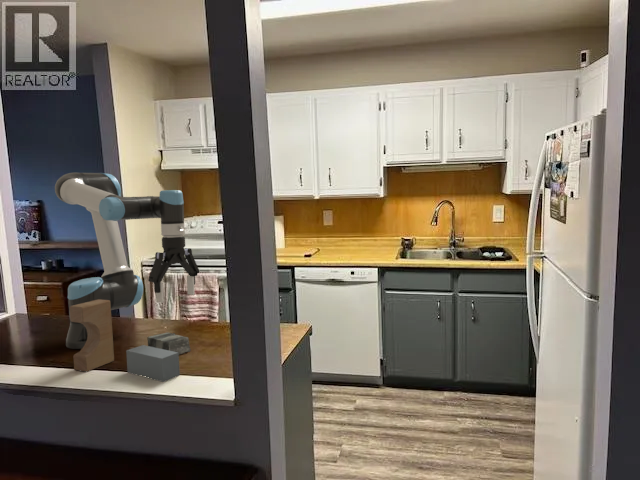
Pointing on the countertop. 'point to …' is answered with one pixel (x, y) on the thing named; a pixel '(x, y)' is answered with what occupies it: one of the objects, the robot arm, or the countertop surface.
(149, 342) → the stone block
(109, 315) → the decorative block
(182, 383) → the countertop surface
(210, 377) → the countertop surface
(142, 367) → the block
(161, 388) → the countertop surface
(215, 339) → the countertop surface
